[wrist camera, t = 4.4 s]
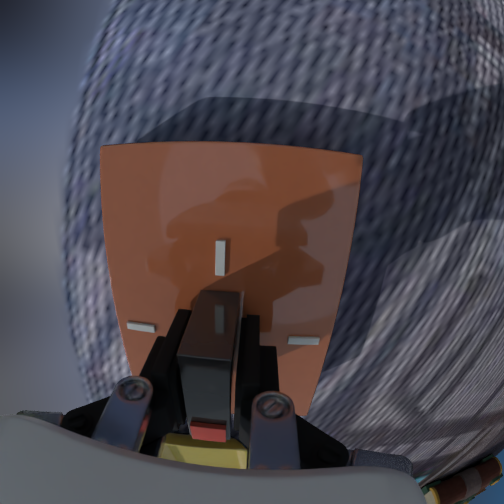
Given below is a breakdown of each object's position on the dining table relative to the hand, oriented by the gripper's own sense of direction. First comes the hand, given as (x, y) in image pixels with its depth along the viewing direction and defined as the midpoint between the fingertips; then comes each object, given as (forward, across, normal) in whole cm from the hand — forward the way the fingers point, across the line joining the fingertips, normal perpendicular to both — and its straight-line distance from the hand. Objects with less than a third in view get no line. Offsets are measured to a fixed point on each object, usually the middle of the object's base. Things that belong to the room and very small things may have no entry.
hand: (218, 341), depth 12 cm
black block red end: (0, 0, 0) cm, 0 cm away
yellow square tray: (+4, +2, +17) cm, 17 cm away
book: (+4, -44, +50) cm, 67 cm away
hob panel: (+3, 0, -1) cm, 4 cm away
